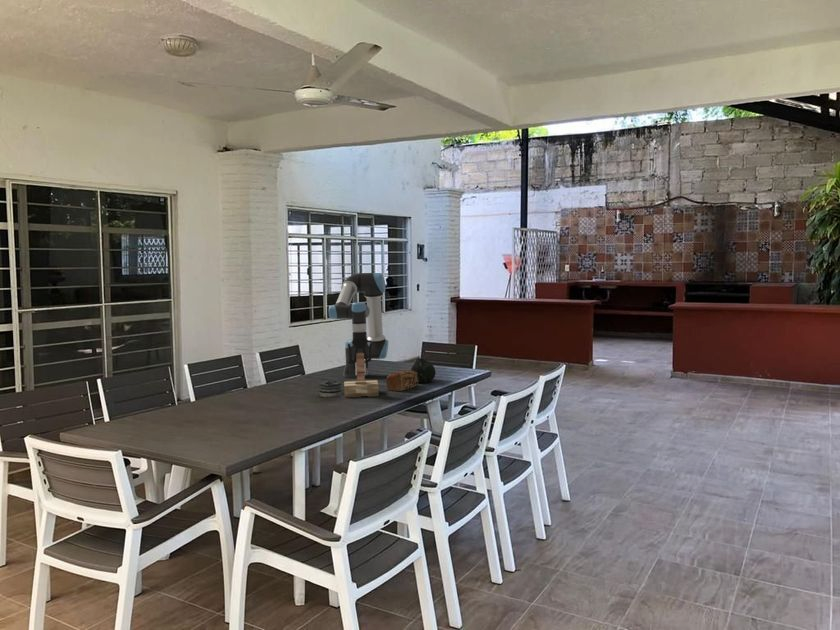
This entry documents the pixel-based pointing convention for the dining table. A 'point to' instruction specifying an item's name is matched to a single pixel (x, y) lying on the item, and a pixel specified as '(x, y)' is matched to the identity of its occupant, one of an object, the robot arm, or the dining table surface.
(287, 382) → the dining table surface
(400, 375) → the bread
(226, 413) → the dining table surface
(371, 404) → the dining table surface
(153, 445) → the dining table surface
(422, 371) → the squash
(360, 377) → the peg
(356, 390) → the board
